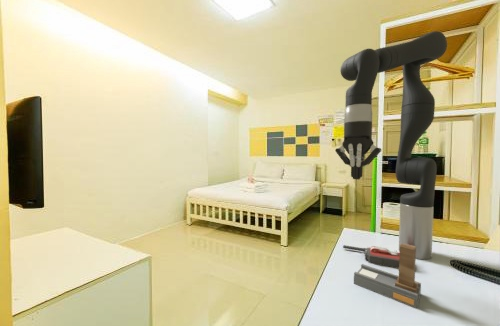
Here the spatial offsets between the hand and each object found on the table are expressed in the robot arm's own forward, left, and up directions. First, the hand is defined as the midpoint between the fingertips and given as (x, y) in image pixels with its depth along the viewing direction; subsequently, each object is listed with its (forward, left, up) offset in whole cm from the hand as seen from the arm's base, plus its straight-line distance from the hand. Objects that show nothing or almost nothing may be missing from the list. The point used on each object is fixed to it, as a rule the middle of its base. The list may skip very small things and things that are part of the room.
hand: (356, 179), depth 66 cm
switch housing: (+6, +10, -27) cm, 29 cm away
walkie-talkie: (-10, +3, -28) cm, 30 cm away
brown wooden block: (+6, +14, -25) cm, 29 cm away
